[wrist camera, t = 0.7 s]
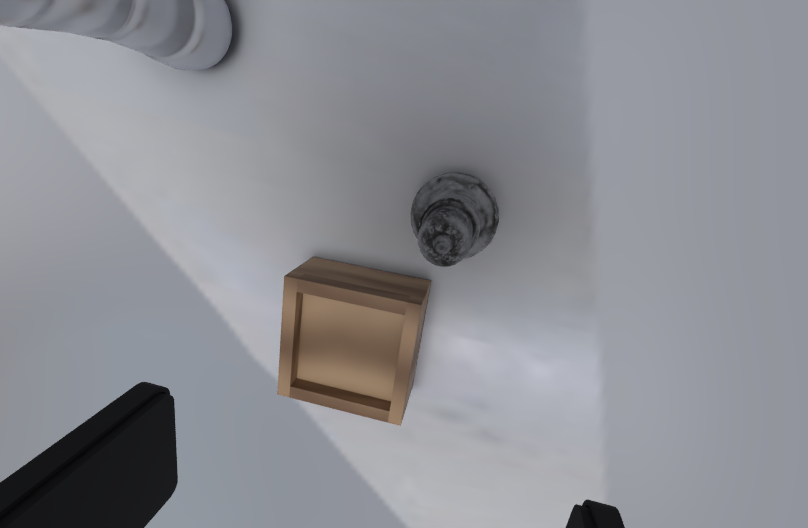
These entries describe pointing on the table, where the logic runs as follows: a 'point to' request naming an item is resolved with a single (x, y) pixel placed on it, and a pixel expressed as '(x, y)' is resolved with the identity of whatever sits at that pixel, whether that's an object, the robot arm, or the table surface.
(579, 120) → the table surface
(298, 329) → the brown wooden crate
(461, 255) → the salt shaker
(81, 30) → the plastic bottle
